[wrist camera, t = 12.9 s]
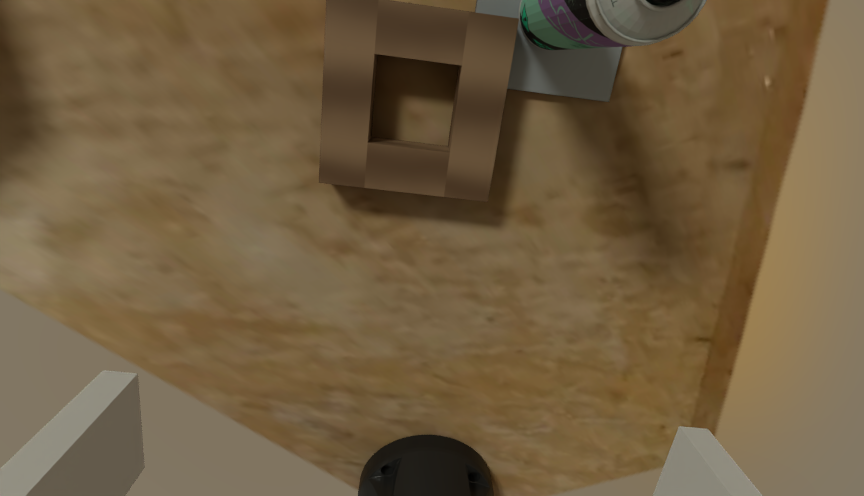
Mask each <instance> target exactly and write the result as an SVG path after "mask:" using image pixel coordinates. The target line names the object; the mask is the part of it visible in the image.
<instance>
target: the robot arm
mask: <svg viewBox="0 0 864 496" xmlns="http://www.w3.org/2000/svg"><path fill="white" fill-rule="evenodd" d="M143 469H144V453H143V441H142V425H141V411H140V397H139V385H138V374H137V373H126V372H116V371H105V370H103V371H102V372H101V373H100V374H99V375H98V376H97V377H96V378H94V379H93V380H92V381H91V383H89V384H88V385H87V386H86V387H85V388H84V389H83V390H82V391H81V392H80V393H79V394H78V395H77V396H76V397H75V398H74V399H73V400H71V401H70V402H69V404H67V405H66V406H65V407H64V408H63V409H62V410H61V411H60V412H59V413H58V414H57V415H56V416H55V417H54V418H53V419H52V420H51V421H49V422H48V424H46V425H45V426H44V427H43V428H42V429H41V430H40V431H39V432H38V433H37V434H36V435H35V436H34V437H33V438H32V439H31V440H30V441H29V442H27V443H26V444H25V445H24V446H23V447H22V448H21V449H20V450H19V451H18V452H17V453H16V454H15V455H14V456H13V457H12V458H11V459H10V460H9V461H8V462H7V463H5V464H4V465H3V466H2V467H1V468H0V496H125V495H126V494H127V492H128V491H129V489H130V488H131V486H132V485H133V483H134V482H135V481H136V479H137V478H138V476H139V475H140V473H141V472H142V470H143ZM358 496H494V495H493V487H492V481H491V476H490V472H489V469H488V467H487V465H486V463H485V462H484V460H483V459H482V458H481V456H480V455H479V454H478V453H477V452H475V451H474V450H473V449H472V448H470V447H469V446H467V445H465V444H464V443H462V442H459V441H457V440H454V439H451V438H448V437H443V436H437V435H417V436H411V437H406V438H402V439H399V440H396V441H394V442H392V443H390V444H388V445H386V446H384V447H383V448H381V449H380V450H379V451H377V452H376V453H375V454H374V455H373V456H372V457H371V458H370V459H369V460H368V462H367V463H366V465H365V467H364V469H363V471H362V474H361V477H360V484H359V491H358ZM653 496H762V494H761V493H760V492H759V491H758V490H757V488H756V487H755V486H754V485H753V483H752V482H751V481H750V480H749V478H748V477H747V476H746V475H745V474H744V473H743V471H742V470H741V469H740V468H739V466H738V465H737V464H736V463H735V461H734V460H733V459H732V458H731V457H730V455H729V454H728V453H727V452H726V451H725V450H724V448H723V447H722V446H721V444H720V443H719V442H718V441H717V440H716V438H715V437H714V436H713V435H712V433H711V432H710V431H709V430H708V429H702V428H691V427H681V426H679V428H678V431H677V433H676V436H675V438H674V441H673V444H672V446H671V449H670V452H669V454H668V457H667V459H666V462H665V465H664V467H663V470H662V473H661V475H660V478H659V480H658V483H657V486H656V488H655V491H654V494H653Z"/></svg>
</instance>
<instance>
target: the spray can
mask: <svg viewBox="0 0 864 496" xmlns="http://www.w3.org/2000/svg"><path fill="white" fill-rule="evenodd" d="M706 1H707V0H521V2H520V5H519V12H518V13H519V24H520V27H521V30H522V32H523V34H524V36H525V37H526V39H527V40H528V41H529V42H530V43H531V44H533V45H535V46H536V47H538V48H541V49H544V50H567V49H587V48H606V47H626V46H642V45H650V44H653V43H656V42H660V41H662V40H664V39H667V38H669V37H671V36H673V35H675V34H677V33H679V32H680V31H681V30H683V29H684V28H685V27H686V26H688V25H689V24H690V23H691V22H692V21H693V20H694V18H695V17H696V16H697V15H698V14H699V12H700V11H701V9H702V8H703V6H704V5H705V3H706Z"/></svg>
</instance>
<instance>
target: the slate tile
mask: <svg viewBox="0 0 864 496" xmlns="http://www.w3.org/2000/svg"><path fill="white" fill-rule="evenodd" d="M520 2H521V0H477V2H476V9H475V12H476V13H483V14H490V15H497V16H504V17H511V18H518V19H519V13H518V12H519V5H520ZM621 51H622V47H606V48H587V49H567V50H544V49H541V48H538V47H536V46H535V45H533V44H531V43H530V42H529V41H528V40H527V39H526V37H525V36H524V34H523V32H522V30H521V27H520V24H519V22H518V28H517V34H516V40H515V46H514V52H513V57H512V63H511V69H510V75H509V81H508V87H507V89H514V90H521V91H529V92H537V93H544V94H552V95H560V96H567V97H575V98H583V99H590V100H598V101H606V102H609V100H610V95H611V91H612V87H613V83H614V79H615V75H616V71H617V67H618V63H619V59H620V55H621Z"/></svg>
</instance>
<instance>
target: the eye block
mask: <svg viewBox="0 0 864 496" xmlns="http://www.w3.org/2000/svg"><path fill="white" fill-rule="evenodd" d="M518 22H519V19H518V18H511V17H504V16H497V15H490V14H483V13H476V12H469V11H461V10H454V9H447V8H440V7H433V6H426V5H419V4H412V3H405V2H398V1H390V0H326V21H325V46H324V70H323V95H322V119H321V144H320V168H319V183H326V184H335V185H344V186H353V187H361V188H370V189H379V190H387V191H396V192H405V193H414V194H422V195H431V196H440V197H448V198H457V199H466V200H475V201H483V202H488V197H489V191H490V186H491V180H492V174H493V168H494V162H495V156H496V151H497V145H498V139H499V133H500V127H501V122H502V116H503V110H504V104H505V98H506V92H507V87H508V81H509V75H510V69H511V63H512V57H513V52H514V46H515V40H516V34H517V28H518ZM378 54H379V55H387V56H394V57H402V58H409V59H417V60H424V61H432V62H439V63H447V64H454V65H459V68H458V75H457V83H456V90H455V98H454V105H453V112H452V120H451V127H450V135H449V142H448V146H441V145H433V144H425V143H417V142H409V141H400V140H392V139H384V138H376V137H371V133H372V120H373V108H374V95H375V82H376V69H377V56H378Z"/></svg>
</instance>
